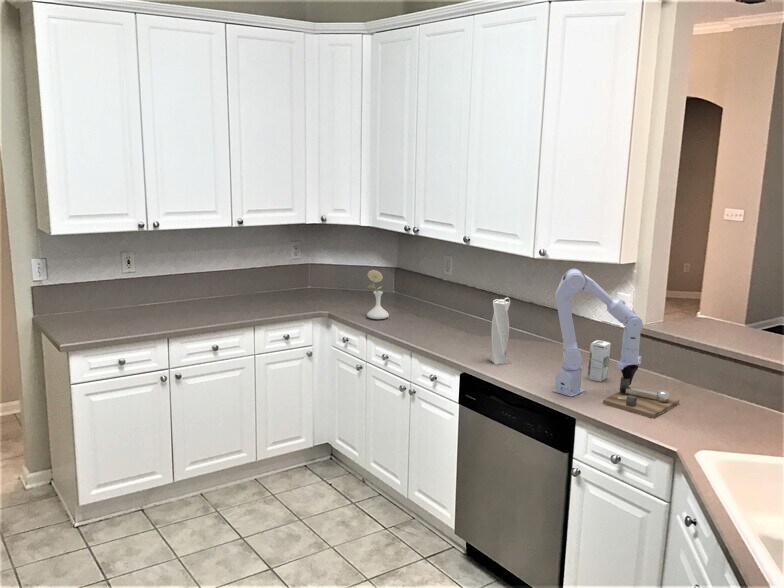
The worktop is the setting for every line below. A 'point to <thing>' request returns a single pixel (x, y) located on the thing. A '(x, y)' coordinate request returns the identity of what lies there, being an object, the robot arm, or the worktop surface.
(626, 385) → the press lever
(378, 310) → the flower in vase
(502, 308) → the skyscraper
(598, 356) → the syrup box
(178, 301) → the worktop surface
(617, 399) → the board
